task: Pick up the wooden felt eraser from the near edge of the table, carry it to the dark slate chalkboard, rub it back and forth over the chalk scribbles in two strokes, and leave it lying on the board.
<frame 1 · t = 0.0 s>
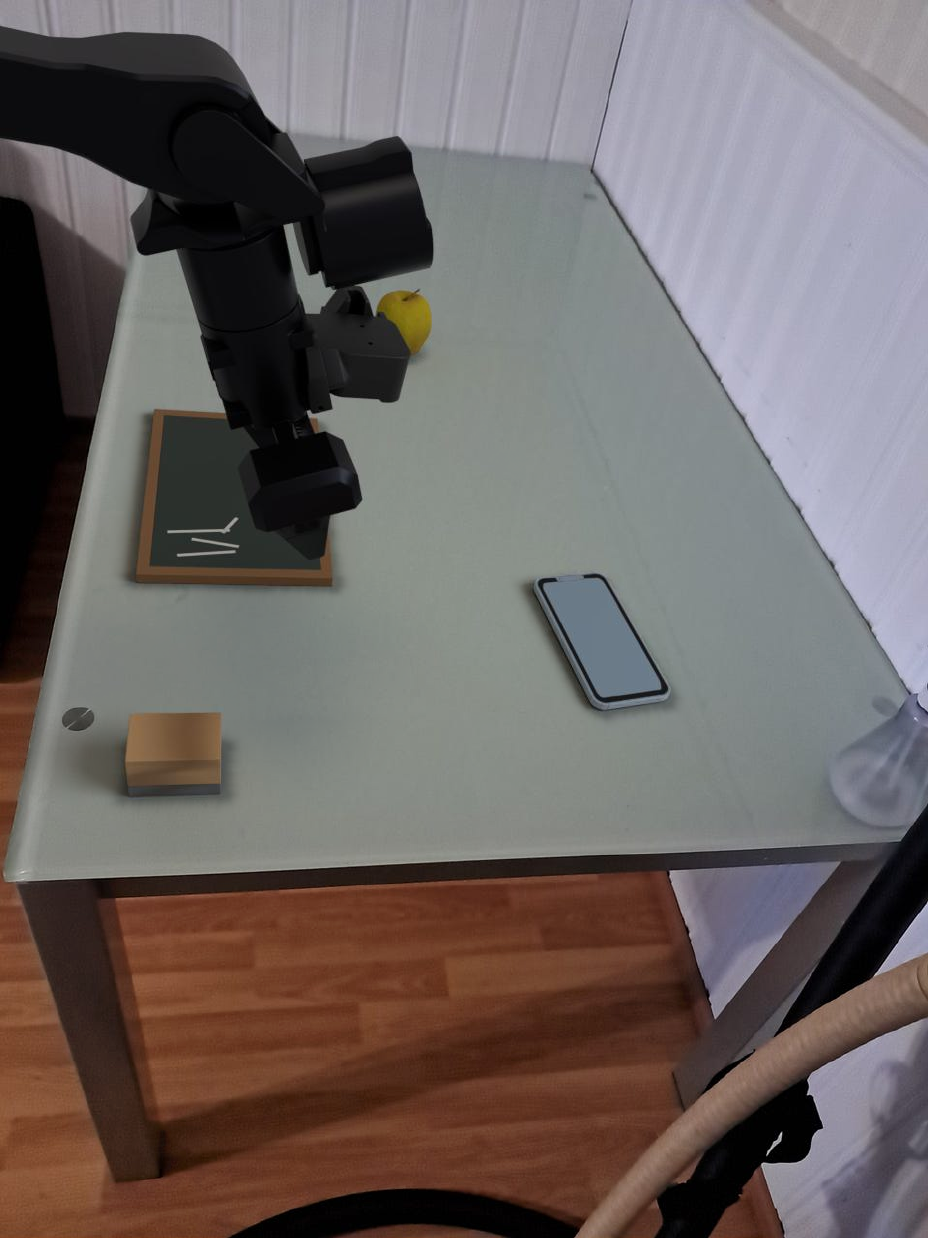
hand: (300, 511, 65), 15 cm above the table, tool pointing down, fingers open, 9 cm apart
eraser: (176, 771, 67), on the table
chalkboard: (236, 495, 89), on the table
smartphone: (597, 641, 84), on the table
apple: (398, 353, 113), on the table
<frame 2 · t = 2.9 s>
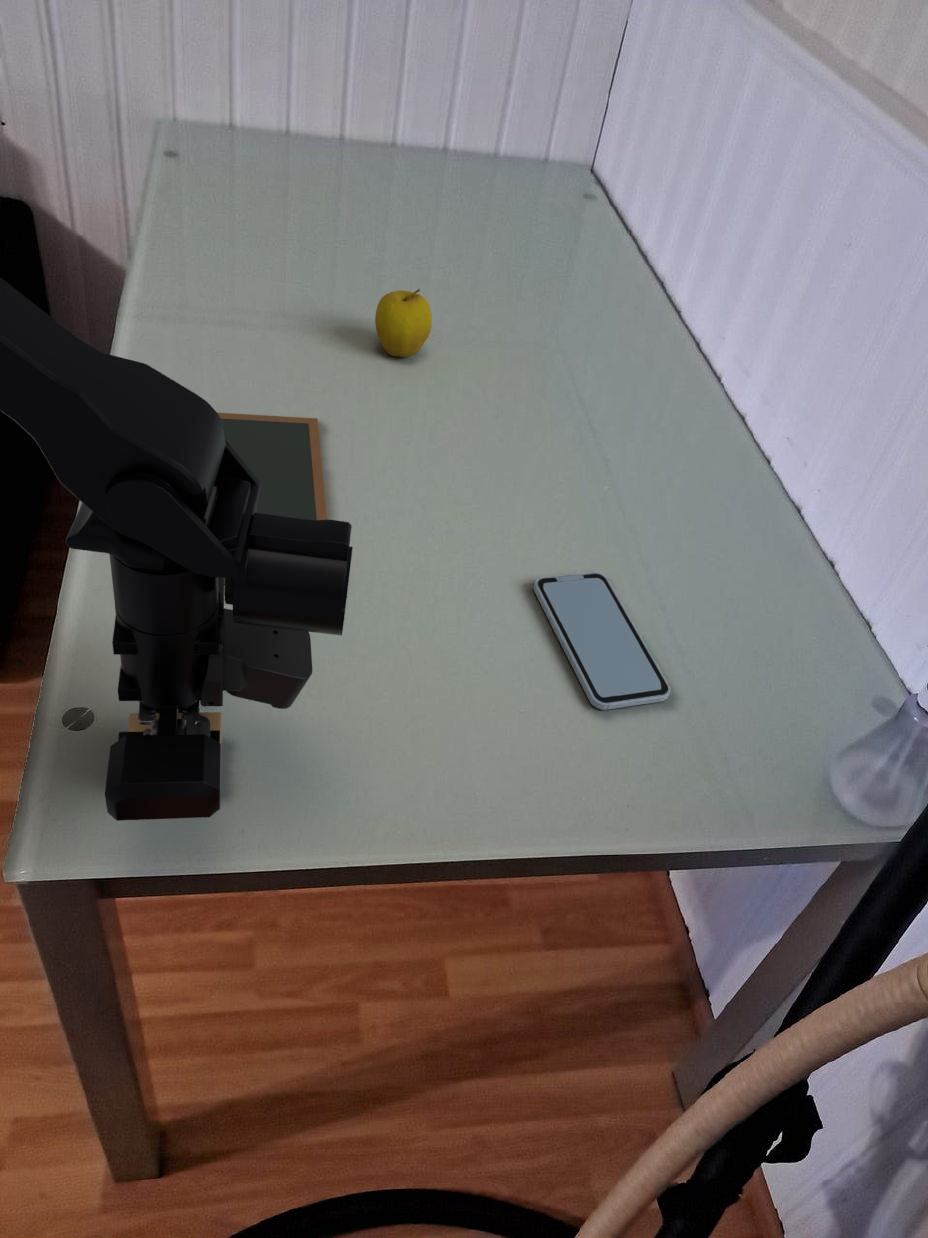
hand: (175, 762, 66), 1 cm above the table, tool pointing down, fingers closed on eraser, 4 cm apart
eraser: (176, 771, 67), on the table, touching gripper
everything else where it was.
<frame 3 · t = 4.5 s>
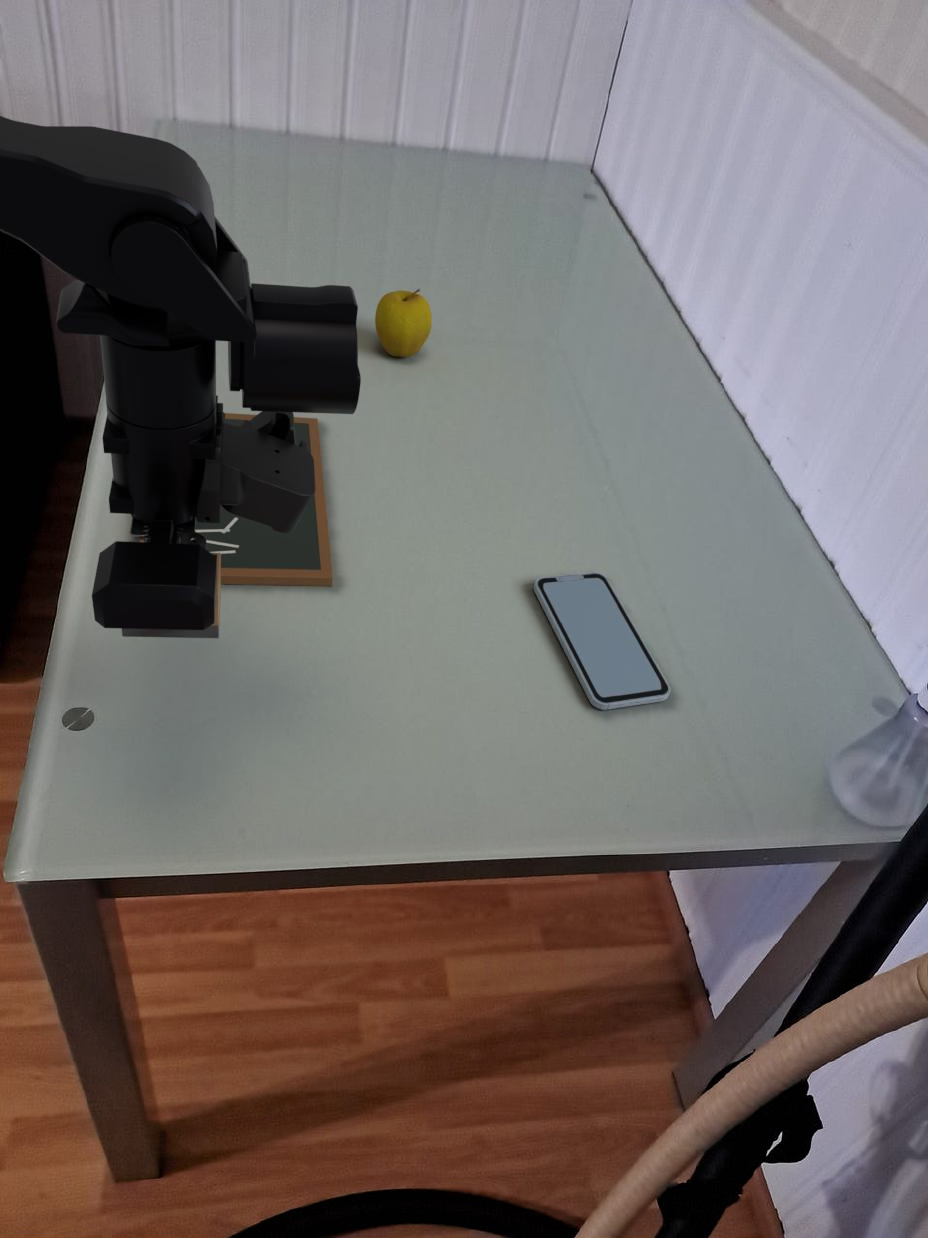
hand: (171, 604, 63), 11 cm above the table, tool pointing down, fingers closed on eraser, 4 cm apart
eraser: (173, 616, 63), point 10 cm above the table, touching gripper
everything else where it was.
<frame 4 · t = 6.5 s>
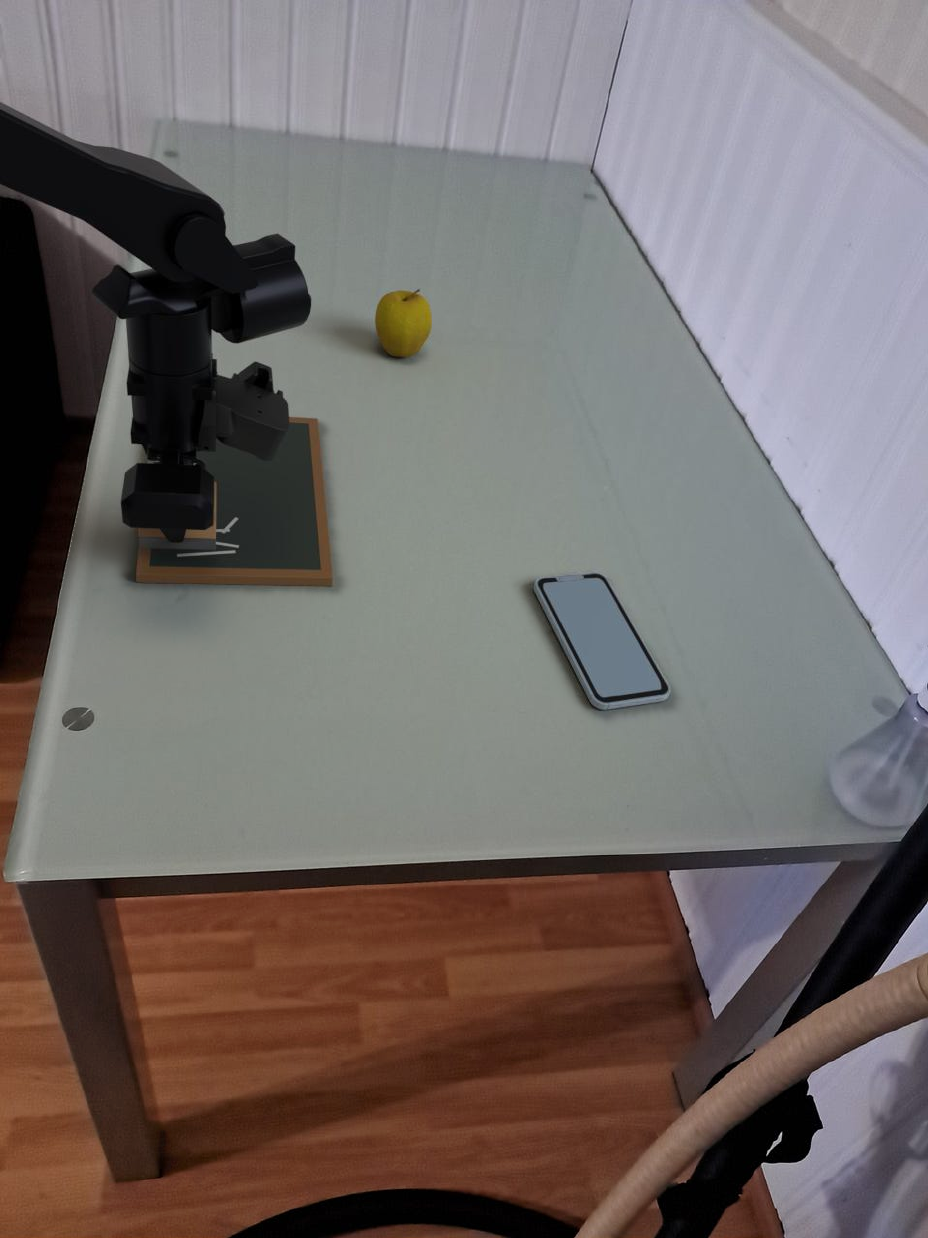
hand: (177, 524, 79), 4 cm above the table, tool pointing down, fingers closed on eraser, 4 cm apart
eraser: (178, 533, 80), point 3 cm above the table, touching gripper
everything else where it was.
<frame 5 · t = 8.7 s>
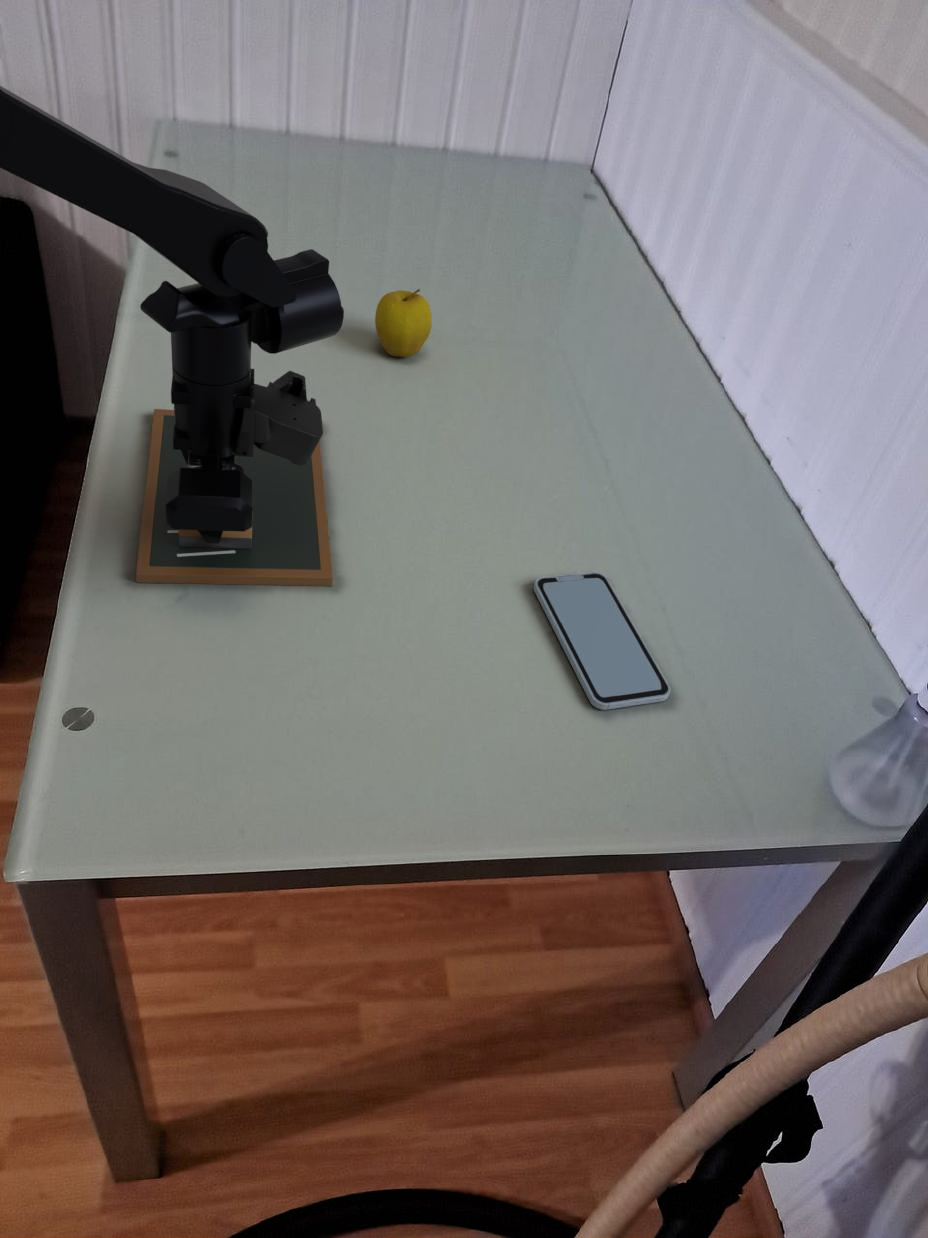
hand: (213, 525, 83), 2 cm above the table, tool pointing down, fingers closed on eraser, 4 cm apart
eraser: (216, 533, 83), point 1 cm above the table, touching gripper
everything else where it was.
when the fingers open (2 cm above the table, at t = 10.1 s): eraser stays where it is, resting on chalkboard.
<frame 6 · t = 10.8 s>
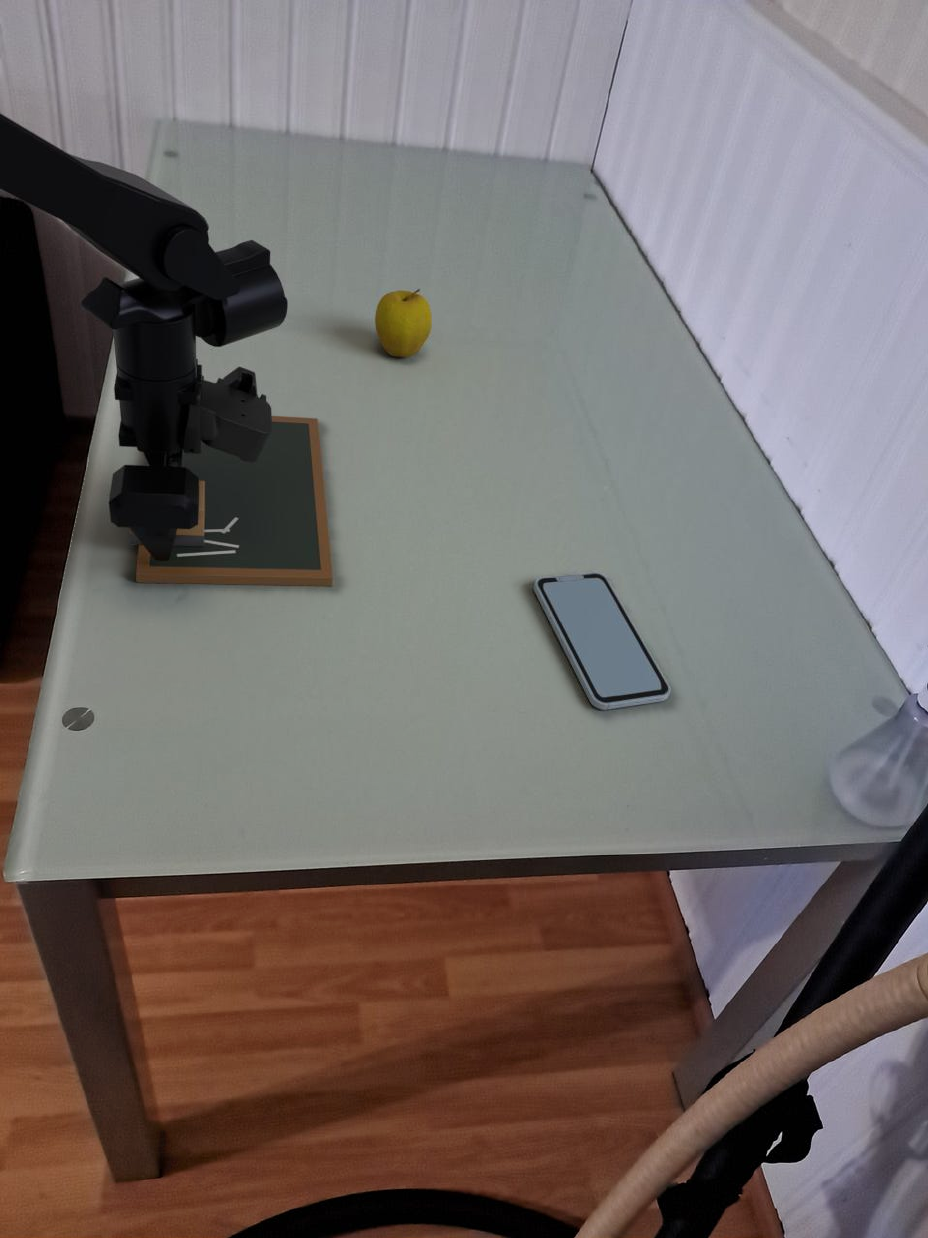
hand: (165, 523, 82), 2 cm above the table, tool pointing down, fingers open, 9 cm apart
eraser: (168, 530, 82), point 1 cm above the table, touching chalkboard
everything else where it was.
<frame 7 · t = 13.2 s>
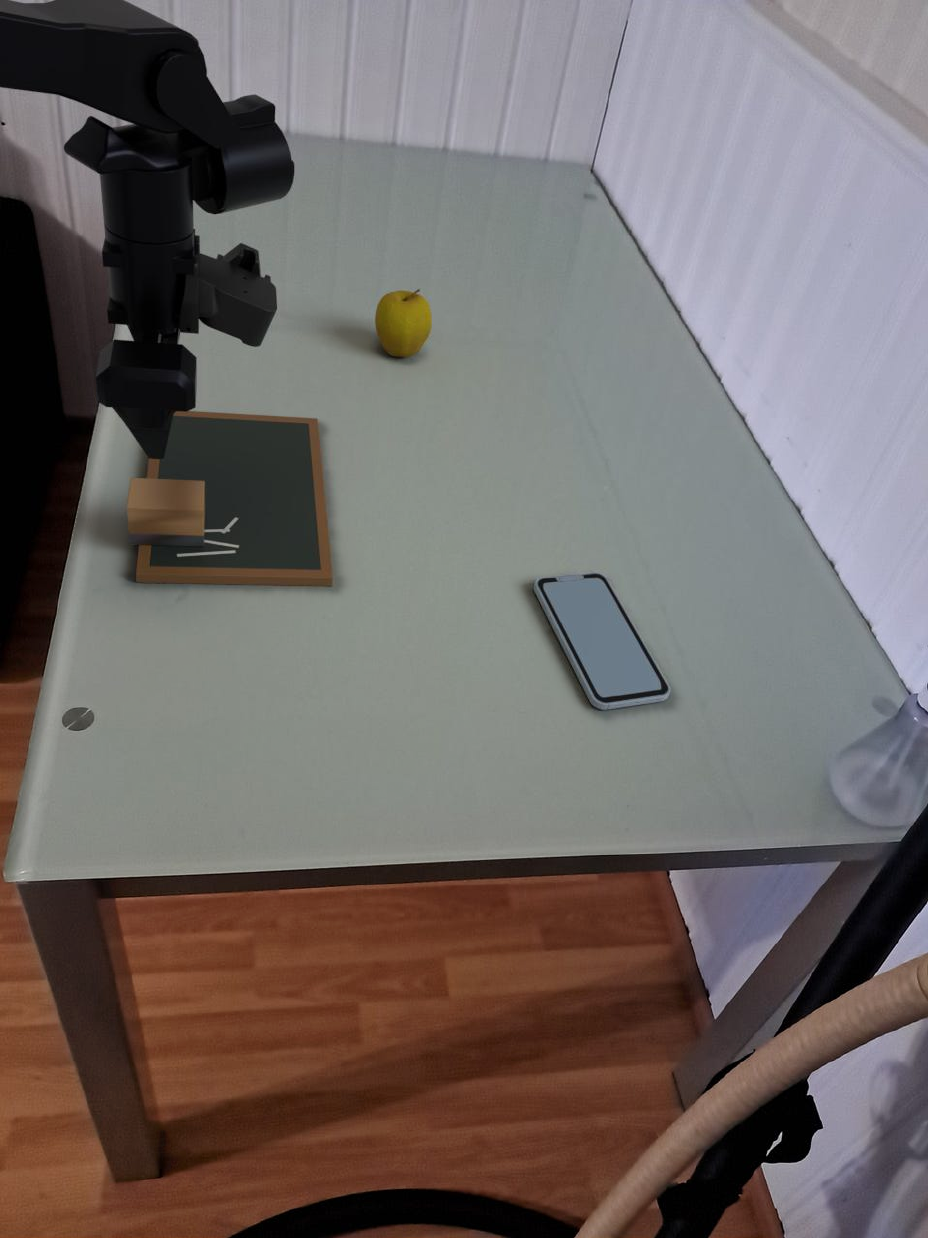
hand: (160, 422, 75), 12 cm above the table, tool pointing down, fingers open, 9 cm apart
nothing on the table moved.
at the end: eraser 8.7 cm from the chalkboard (horizontally); eraser touching chalkboard; the gripper is holding nothing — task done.
